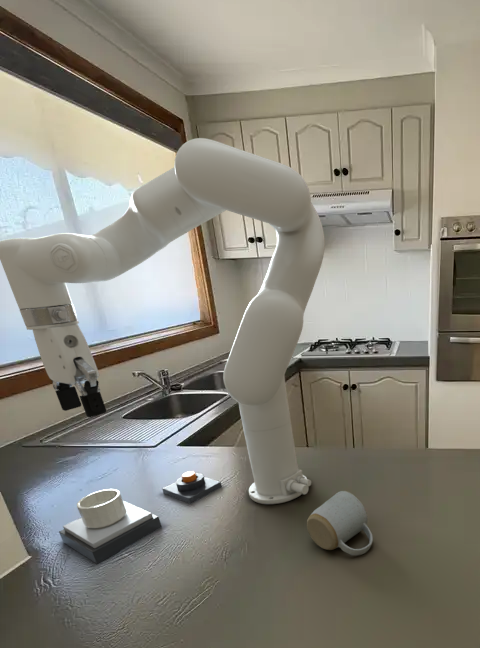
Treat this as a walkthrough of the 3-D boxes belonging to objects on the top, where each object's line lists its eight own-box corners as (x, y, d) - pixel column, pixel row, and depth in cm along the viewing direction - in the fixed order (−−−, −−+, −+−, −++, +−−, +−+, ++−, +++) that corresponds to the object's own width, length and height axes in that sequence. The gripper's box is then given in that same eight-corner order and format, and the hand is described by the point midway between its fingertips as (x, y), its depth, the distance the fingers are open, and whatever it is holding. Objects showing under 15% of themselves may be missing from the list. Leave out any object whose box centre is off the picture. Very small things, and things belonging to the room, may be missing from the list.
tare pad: (222, 487, 95) (219, 475, 94) (190, 504, 89) (187, 491, 87) (194, 478, 100) (191, 466, 99) (163, 493, 94) (160, 481, 93)
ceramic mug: (306, 544, 73) (300, 506, 70) (338, 521, 78) (333, 485, 75) (353, 567, 66) (349, 526, 63) (384, 540, 72) (381, 501, 69)
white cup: (134, 515, 79) (126, 493, 78) (96, 534, 74) (87, 512, 73) (115, 506, 83) (108, 485, 81) (78, 524, 78) (69, 502, 76)
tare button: (199, 478, 94) (197, 472, 93) (188, 484, 91) (186, 477, 91) (191, 476, 95) (190, 470, 94) (180, 481, 93) (178, 475, 92)
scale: (162, 527, 81) (157, 512, 80) (97, 564, 72) (90, 547, 71) (126, 511, 88) (121, 496, 87) (63, 542, 79) (56, 526, 78)
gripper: (97, 314, 71) (128, 410, 77) (53, 314, 80) (84, 400, 87) (47, 321, 65) (84, 424, 72) (5, 320, 74) (42, 412, 81)
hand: (84, 411), depth 79 cm, fingers open, 9 cm apart
